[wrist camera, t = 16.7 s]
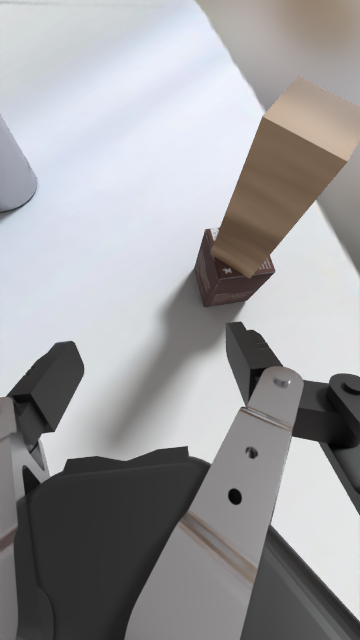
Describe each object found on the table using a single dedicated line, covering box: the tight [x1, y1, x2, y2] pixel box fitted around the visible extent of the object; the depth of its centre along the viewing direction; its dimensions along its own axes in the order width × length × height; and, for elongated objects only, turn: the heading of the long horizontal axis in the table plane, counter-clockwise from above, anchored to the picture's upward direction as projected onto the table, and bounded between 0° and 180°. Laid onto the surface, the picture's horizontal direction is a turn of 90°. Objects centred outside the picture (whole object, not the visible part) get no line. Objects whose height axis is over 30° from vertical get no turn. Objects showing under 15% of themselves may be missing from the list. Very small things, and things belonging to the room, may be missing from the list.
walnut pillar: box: [210, 76, 360, 278], centre depth 16 cm, size 4×4×11 cm
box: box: [194, 228, 275, 307], centre depth 25 cm, size 6×6×7 cm
